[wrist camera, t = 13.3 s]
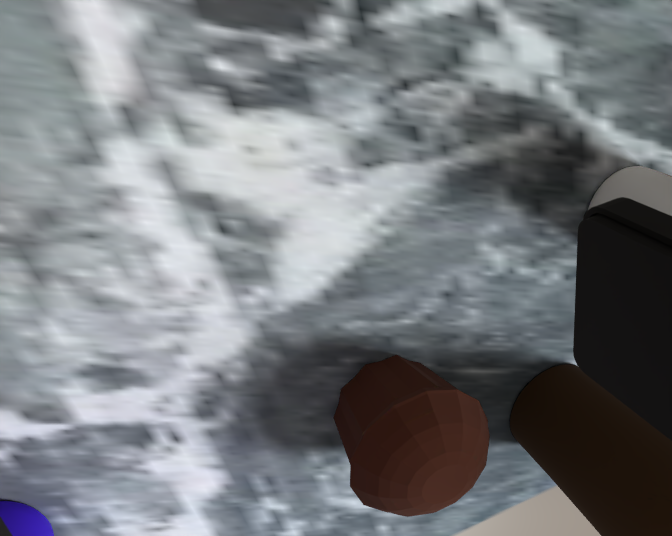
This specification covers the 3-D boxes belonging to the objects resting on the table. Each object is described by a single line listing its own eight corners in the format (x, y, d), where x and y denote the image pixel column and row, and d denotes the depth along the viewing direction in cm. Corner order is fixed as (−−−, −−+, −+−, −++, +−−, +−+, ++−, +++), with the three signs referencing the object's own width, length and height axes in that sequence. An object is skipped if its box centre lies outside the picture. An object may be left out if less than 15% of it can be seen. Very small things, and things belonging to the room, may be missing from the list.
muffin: (459, 342, 53) (535, 414, 45) (423, 449, 57) (488, 533, 49) (332, 343, 48) (392, 424, 40) (303, 460, 52) (352, 557, 43)
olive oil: (484, 442, 60) (716, 699, 39) (539, 348, 57) (819, 570, 37) (557, 453, 65) (794, 684, 45) (610, 367, 63) (888, 571, 42)
